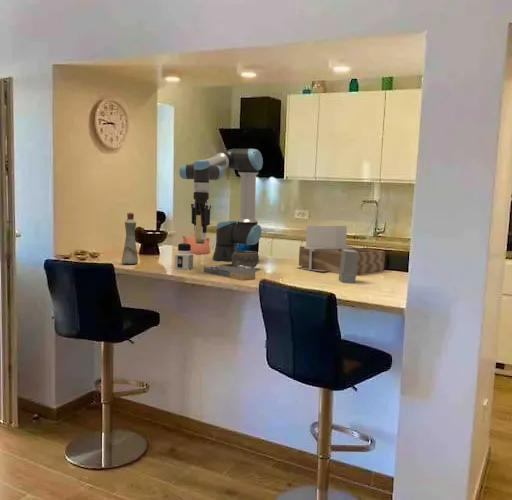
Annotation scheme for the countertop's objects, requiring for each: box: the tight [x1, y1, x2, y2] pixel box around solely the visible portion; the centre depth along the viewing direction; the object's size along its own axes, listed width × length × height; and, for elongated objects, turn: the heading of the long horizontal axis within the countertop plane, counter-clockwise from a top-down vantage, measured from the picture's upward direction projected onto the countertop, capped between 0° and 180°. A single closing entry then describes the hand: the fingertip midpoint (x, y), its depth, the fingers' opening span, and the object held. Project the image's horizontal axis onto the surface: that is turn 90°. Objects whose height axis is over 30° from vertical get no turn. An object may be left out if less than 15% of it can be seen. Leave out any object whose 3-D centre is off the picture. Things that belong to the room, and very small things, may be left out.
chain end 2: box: [218, 263, 256, 281], centre depth 278 cm, size 8×18×6 cm, turn 43°
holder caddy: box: [298, 245, 386, 276], centre depth 317 cm, size 29×36×12 cm
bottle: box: [121, 211, 139, 265], centre depth 310 cm, size 9×9×28 cm
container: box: [174, 242, 194, 270], centre depth 301 cm, size 8×8×13 cm
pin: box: [196, 215, 205, 244], centre depth 284 cm, size 4×4×14 cm
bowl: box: [231, 250, 260, 268], centre depth 302 cm, size 14×15×10 cm
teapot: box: [181, 233, 211, 256], centre depth 362 cm, size 25×17×13 cm
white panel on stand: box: [299, 225, 353, 272], centre depth 317 cm, size 28×21×23 cm
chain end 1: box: [203, 265, 231, 279], centre depth 286 cm, size 8×20×3 cm, turn 43°
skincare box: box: [338, 249, 358, 284], centre depth 273 cm, size 8×7×16 cm
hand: (200, 238), depth 284 cm, fingers closed on pin, 4 cm apart
